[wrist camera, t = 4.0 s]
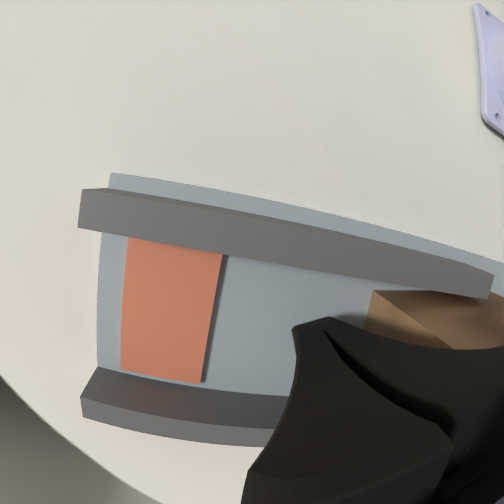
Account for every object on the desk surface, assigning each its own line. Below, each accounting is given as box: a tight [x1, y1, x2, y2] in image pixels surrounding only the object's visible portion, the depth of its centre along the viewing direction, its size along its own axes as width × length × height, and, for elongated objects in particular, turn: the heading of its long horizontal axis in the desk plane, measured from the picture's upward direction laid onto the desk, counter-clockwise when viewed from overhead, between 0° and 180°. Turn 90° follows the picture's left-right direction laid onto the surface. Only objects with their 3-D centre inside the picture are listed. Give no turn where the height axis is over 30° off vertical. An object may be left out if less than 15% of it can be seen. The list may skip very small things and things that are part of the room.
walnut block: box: [364, 290, 504, 350], centre depth 9 cm, size 7×4×5 cm, turn 85°
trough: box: [78, 173, 504, 447], centre depth 11 cm, size 26×9×2 cm, turn 78°
